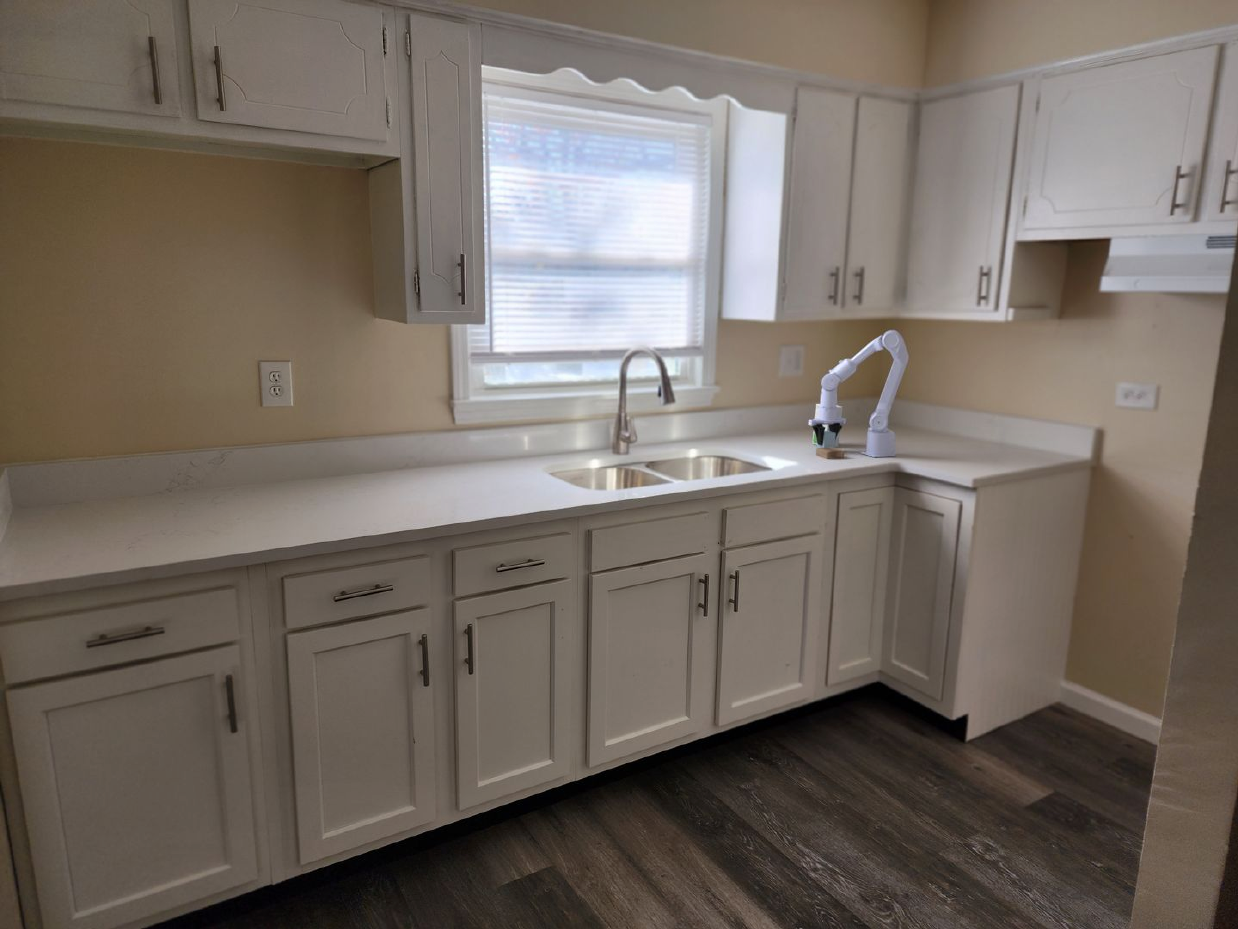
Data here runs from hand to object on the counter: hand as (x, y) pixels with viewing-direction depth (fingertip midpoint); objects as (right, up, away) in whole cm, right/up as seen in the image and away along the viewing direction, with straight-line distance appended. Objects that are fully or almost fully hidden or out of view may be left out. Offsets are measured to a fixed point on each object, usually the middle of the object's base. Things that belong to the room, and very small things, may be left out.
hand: (825, 444), depth 296 cm
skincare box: (+3, 0, +12) cm, 13 cm away
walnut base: (-1, -5, -9) cm, 10 cm away
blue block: (0, -1, 0) cm, 2 cm away
